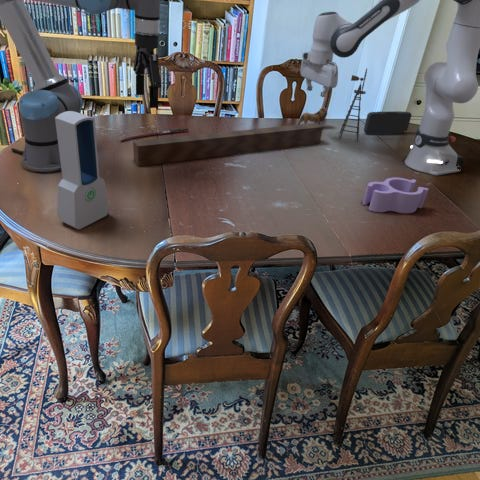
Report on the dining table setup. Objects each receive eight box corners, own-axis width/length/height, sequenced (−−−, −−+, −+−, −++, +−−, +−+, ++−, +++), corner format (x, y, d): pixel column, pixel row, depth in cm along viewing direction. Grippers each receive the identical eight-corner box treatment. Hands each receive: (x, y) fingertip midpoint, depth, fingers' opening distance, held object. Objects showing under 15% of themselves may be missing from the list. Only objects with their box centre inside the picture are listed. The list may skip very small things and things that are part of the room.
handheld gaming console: (403, 131, 225) (409, 110, 219) (406, 133, 222) (412, 112, 217) (362, 132, 217) (367, 111, 212) (365, 134, 215) (370, 113, 210)
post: (138, 166, 165) (137, 146, 161) (133, 160, 168) (133, 141, 164) (319, 143, 201) (323, 126, 197) (312, 139, 204) (315, 122, 200)
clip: (376, 216, 149) (381, 197, 146) (356, 198, 159) (361, 179, 155) (427, 211, 156) (433, 192, 152) (405, 194, 165) (410, 176, 162)
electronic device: (76, 231, 126) (63, 124, 110) (57, 222, 129) (42, 116, 113) (110, 214, 135) (103, 112, 119) (91, 206, 138) (82, 105, 122)
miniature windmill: (357, 141, 207) (374, 71, 190) (338, 138, 208) (353, 69, 191) (357, 134, 214) (373, 67, 198) (339, 132, 215) (353, 64, 199)
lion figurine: (321, 124, 222) (325, 105, 217) (326, 128, 218) (330, 109, 213) (293, 125, 217) (296, 106, 212) (298, 129, 213) (302, 110, 208)
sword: (184, 128, 200) (184, 125, 199) (188, 130, 198) (188, 128, 197) (117, 141, 184) (116, 138, 183) (120, 143, 182) (120, 140, 181)
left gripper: (173, 42, 138) (170, 112, 150) (145, 25, 156) (144, 89, 167) (149, 42, 135) (148, 113, 146) (123, 24, 152) (124, 90, 164)
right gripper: (344, 63, 175) (338, 100, 183) (312, 51, 190) (307, 86, 198) (331, 64, 173) (325, 101, 180) (299, 52, 187) (295, 87, 195)
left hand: (146, 101), depth 157 cm, fingers open, 13 cm apart
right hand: (316, 93), depth 189 cm, fingers open, 8 cm apart
